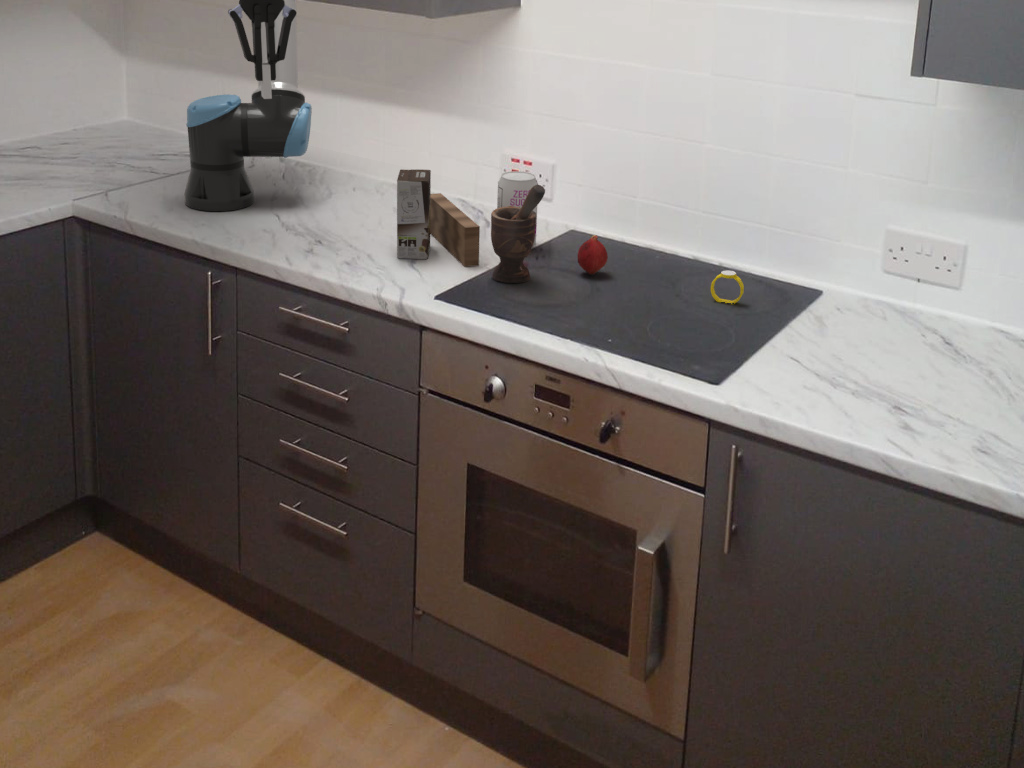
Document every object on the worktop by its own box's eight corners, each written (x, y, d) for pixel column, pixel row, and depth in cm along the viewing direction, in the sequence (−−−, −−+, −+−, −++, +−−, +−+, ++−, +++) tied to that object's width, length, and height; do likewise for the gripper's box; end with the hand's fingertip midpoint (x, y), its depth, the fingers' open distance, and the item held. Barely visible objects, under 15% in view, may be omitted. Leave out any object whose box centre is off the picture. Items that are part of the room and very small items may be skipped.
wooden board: (427, 230, 262) (427, 194, 258) (440, 229, 263) (440, 193, 259) (464, 266, 242) (465, 227, 238) (478, 265, 243) (479, 226, 239)
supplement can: (515, 237, 259) (518, 168, 253) (543, 247, 254) (546, 176, 248) (487, 245, 254) (489, 174, 248) (515, 255, 249) (518, 183, 243)
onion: (584, 280, 237) (587, 241, 233) (571, 271, 241) (573, 232, 238) (611, 277, 239) (613, 238, 236) (597, 268, 244) (600, 229, 240)
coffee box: (428, 259, 245) (429, 181, 238) (396, 258, 245) (395, 180, 238) (431, 245, 253) (431, 168, 246) (400, 244, 253) (399, 167, 246)
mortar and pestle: (555, 279, 237) (560, 178, 228) (534, 292, 230) (539, 189, 222) (502, 268, 242) (506, 169, 233) (481, 280, 235) (483, 178, 226)
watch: (709, 303, 229) (710, 273, 226) (712, 298, 231) (713, 268, 229) (740, 306, 227) (742, 276, 224) (743, 301, 229) (745, 271, 227)
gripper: (228, -26, 224) (236, 102, 234) (299, -27, 229) (303, 99, 239) (221, -31, 231) (229, 94, 241) (290, -32, 235) (295, 92, 245)
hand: (266, 97), depth 240 cm, fingers closed
